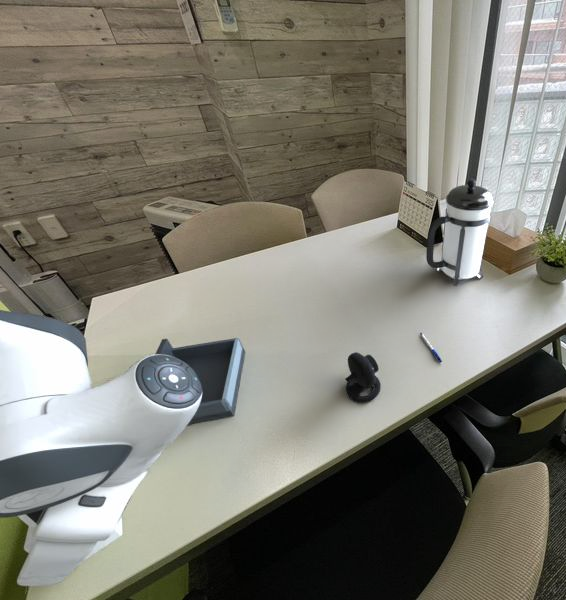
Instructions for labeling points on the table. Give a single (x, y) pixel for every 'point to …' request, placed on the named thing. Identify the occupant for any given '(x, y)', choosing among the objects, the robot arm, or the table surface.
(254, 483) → the table surface
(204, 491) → the table surface
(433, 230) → the coffee press
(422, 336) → the ballpoint pen
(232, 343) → the drawer
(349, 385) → the webcam
